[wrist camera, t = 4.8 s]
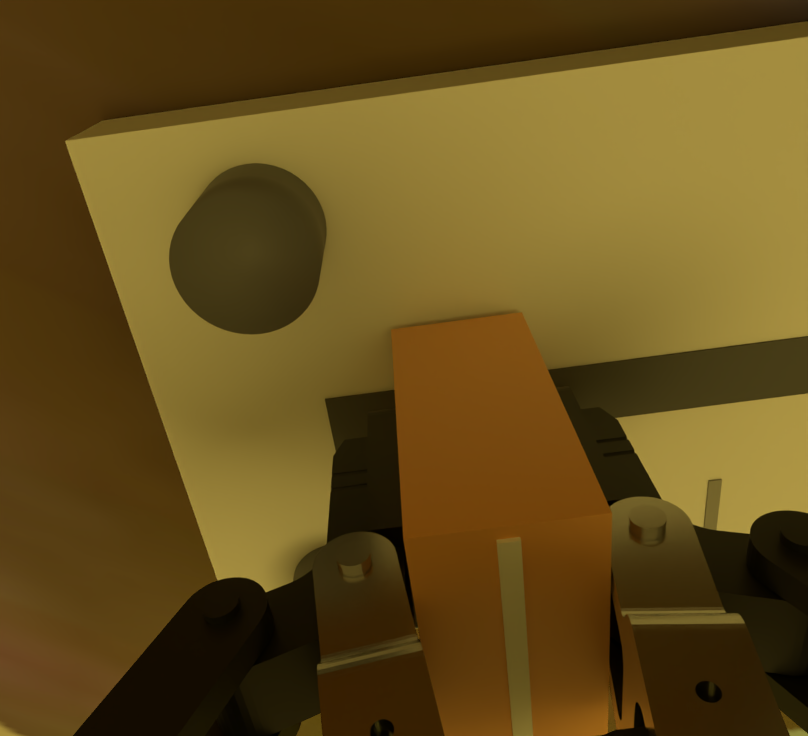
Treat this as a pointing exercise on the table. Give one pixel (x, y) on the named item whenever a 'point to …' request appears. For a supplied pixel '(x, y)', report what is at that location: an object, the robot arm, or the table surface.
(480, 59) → the table surface
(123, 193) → the console
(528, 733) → the fader cap
